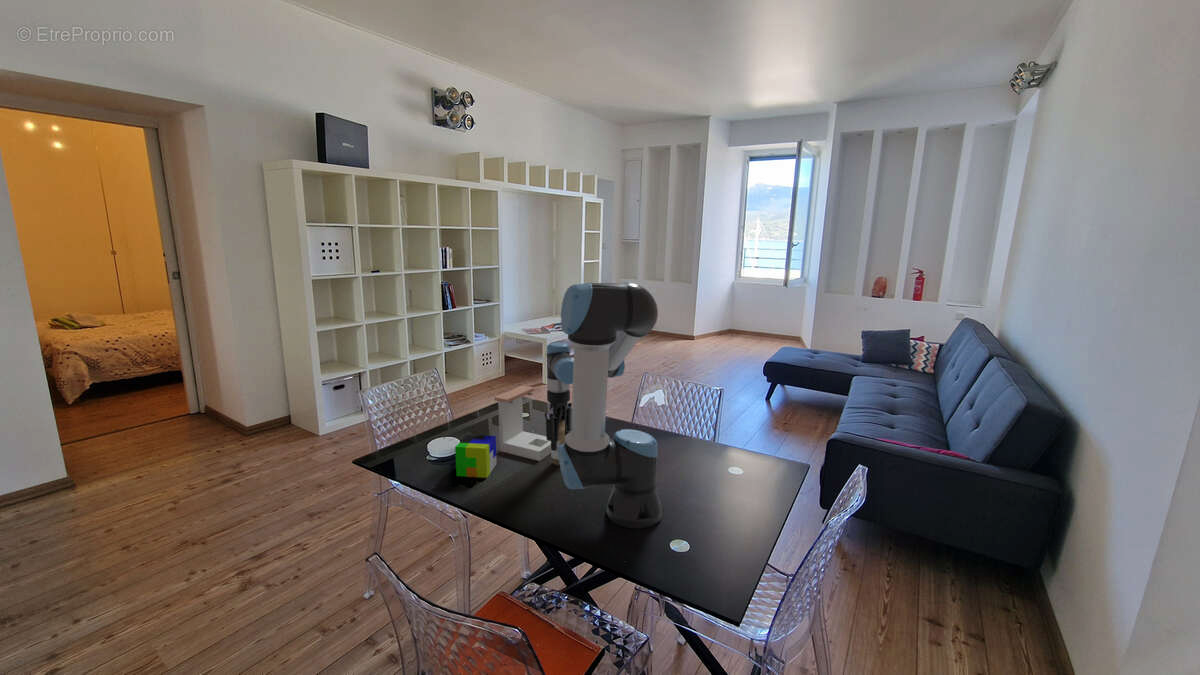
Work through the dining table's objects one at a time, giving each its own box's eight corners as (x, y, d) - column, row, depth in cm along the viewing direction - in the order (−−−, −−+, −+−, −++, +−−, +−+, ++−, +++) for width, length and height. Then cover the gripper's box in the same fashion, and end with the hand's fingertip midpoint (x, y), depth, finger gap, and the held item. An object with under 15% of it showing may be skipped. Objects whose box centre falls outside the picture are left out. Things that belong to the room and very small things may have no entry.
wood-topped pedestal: (508, 446, 170) (507, 399, 167) (496, 443, 173) (494, 397, 169) (535, 431, 184) (534, 387, 181) (523, 428, 187) (522, 385, 183)
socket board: (539, 461, 167) (539, 451, 167) (500, 451, 175) (499, 441, 174) (558, 448, 178) (558, 439, 177) (520, 439, 186) (519, 430, 185)
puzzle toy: (496, 463, 165) (495, 436, 163) (487, 478, 156) (485, 448, 154) (467, 462, 166) (466, 434, 164) (456, 476, 156) (455, 446, 154)
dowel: (561, 466, 164) (560, 423, 161) (550, 463, 165) (550, 421, 163) (567, 461, 167) (566, 420, 164) (557, 459, 169) (556, 418, 166)
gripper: (554, 398, 152) (554, 468, 157) (581, 384, 167) (580, 448, 172) (534, 394, 156) (535, 463, 160) (562, 381, 170) (562, 444, 175)
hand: (558, 455), depth 166 cm, fingers closed on dowel, 4 cm apart
